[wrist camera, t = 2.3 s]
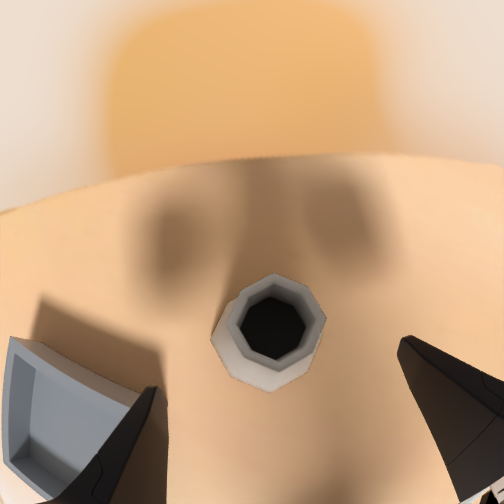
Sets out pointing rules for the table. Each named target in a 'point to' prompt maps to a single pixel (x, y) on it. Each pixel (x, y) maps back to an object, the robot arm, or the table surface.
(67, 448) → the tray
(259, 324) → the flask
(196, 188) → the table surface
